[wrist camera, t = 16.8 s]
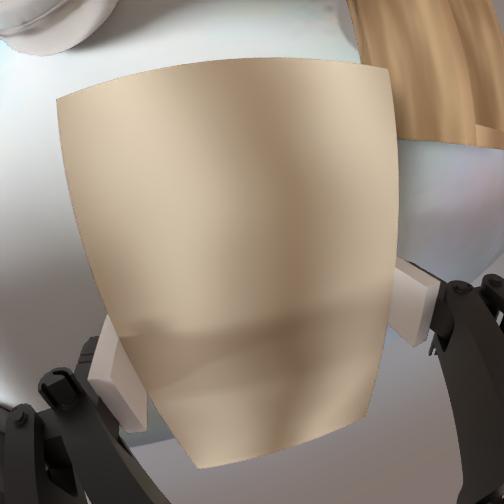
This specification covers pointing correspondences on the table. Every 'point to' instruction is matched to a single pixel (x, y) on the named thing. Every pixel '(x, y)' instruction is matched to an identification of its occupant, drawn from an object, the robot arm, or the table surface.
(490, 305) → the robot arm
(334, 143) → the lid
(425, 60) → the toolbox
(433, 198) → the table surface
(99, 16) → the plastic bottle
